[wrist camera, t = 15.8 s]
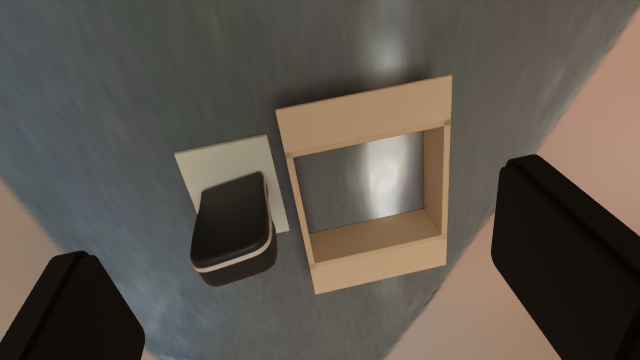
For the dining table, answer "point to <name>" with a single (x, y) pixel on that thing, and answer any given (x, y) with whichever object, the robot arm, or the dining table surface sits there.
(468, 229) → the dining table surface
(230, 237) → the battery charger
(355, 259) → the carton
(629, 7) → the dining table surface
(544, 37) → the dining table surface
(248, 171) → the mat
